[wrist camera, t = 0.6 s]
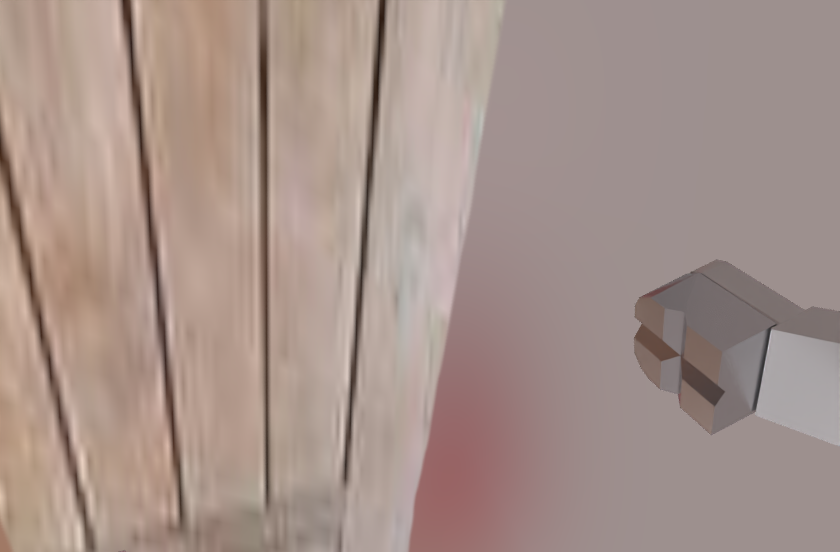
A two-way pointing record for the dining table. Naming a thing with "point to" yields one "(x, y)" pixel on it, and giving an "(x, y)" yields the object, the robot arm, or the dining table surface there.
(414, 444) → the dining table surface
